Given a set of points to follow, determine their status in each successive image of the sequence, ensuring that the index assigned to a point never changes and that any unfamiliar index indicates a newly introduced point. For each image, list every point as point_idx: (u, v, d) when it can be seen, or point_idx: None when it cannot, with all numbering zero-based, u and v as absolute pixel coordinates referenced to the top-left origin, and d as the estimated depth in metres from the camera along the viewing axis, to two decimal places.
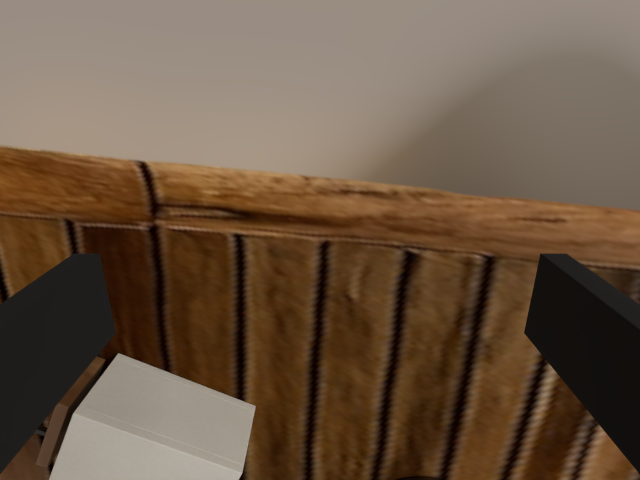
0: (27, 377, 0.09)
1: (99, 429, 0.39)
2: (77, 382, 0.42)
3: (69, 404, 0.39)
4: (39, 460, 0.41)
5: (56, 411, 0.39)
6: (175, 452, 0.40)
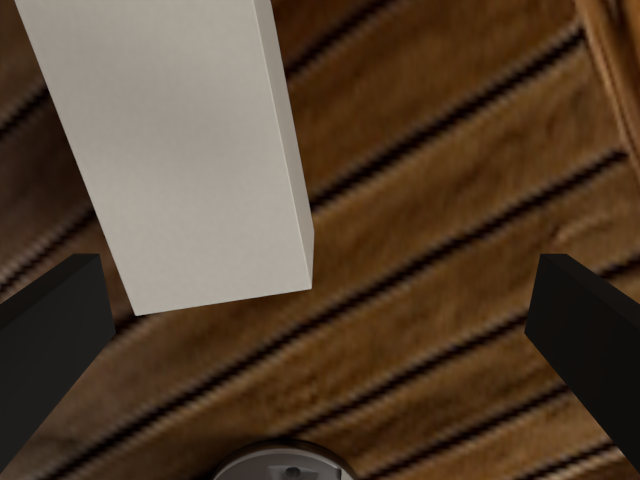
0: (27, 377, 0.09)
1: None
2: None
3: None
4: None
5: None
6: (280, 166, 0.20)
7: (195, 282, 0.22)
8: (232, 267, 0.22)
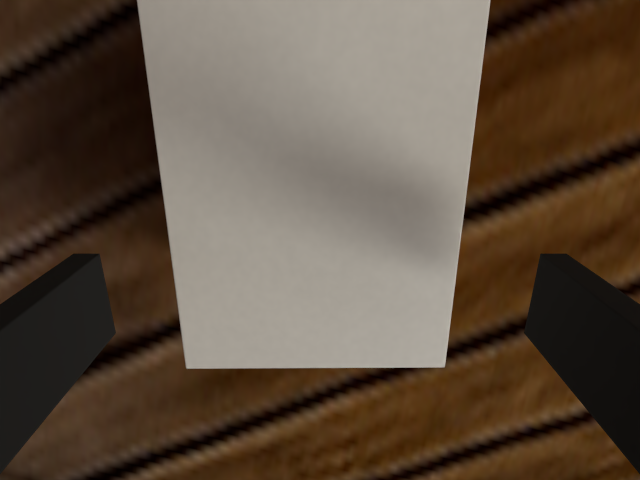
0: (27, 377, 0.09)
1: None
2: None
3: None
4: None
5: None
6: (457, 195, 0.14)
7: (285, 336, 0.15)
8: (344, 323, 0.15)
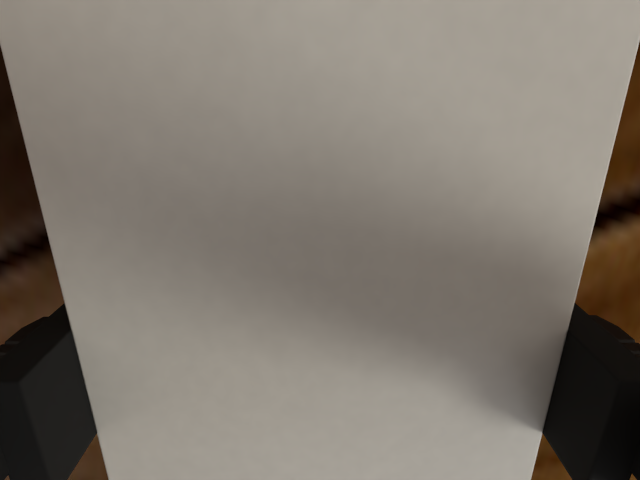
0: None
1: None
2: None
3: None
4: None
5: None
6: (570, 261, 0.08)
7: (272, 472, 0.10)
8: (366, 455, 0.09)
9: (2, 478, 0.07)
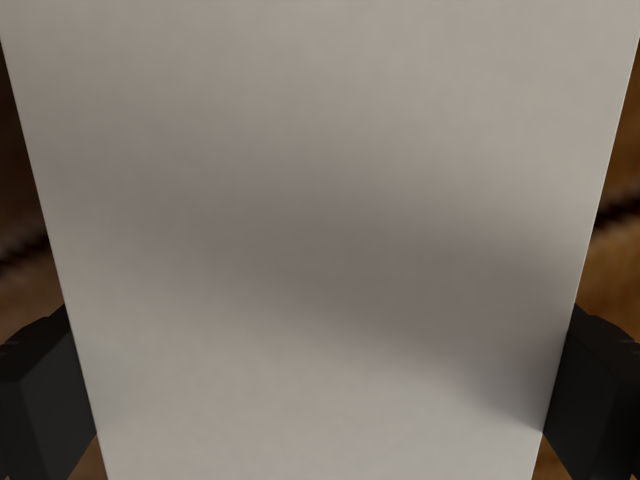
0: None
1: None
2: None
3: None
4: None
5: None
6: (570, 261, 0.08)
7: (272, 472, 0.10)
8: (367, 455, 0.09)
9: (2, 478, 0.07)
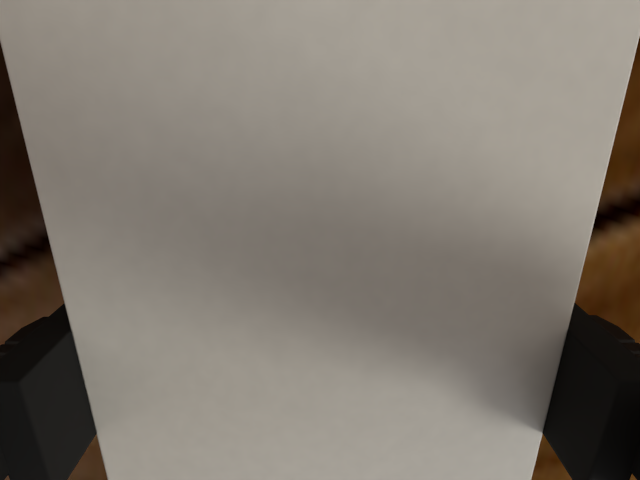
0: None
1: None
2: None
3: None
4: None
5: None
6: (570, 261, 0.08)
7: (272, 472, 0.10)
8: (366, 455, 0.09)
9: (3, 477, 0.07)
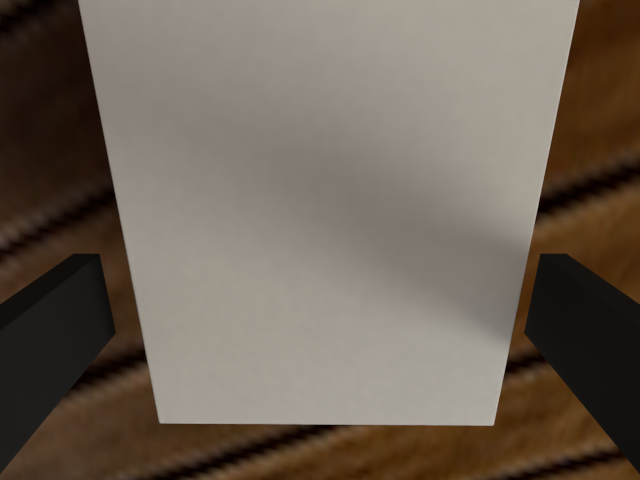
0: (27, 377, 0.09)
1: None
2: None
3: None
4: None
5: None
6: (526, 206, 0.10)
7: (287, 386, 0.12)
8: (364, 371, 0.12)
9: None
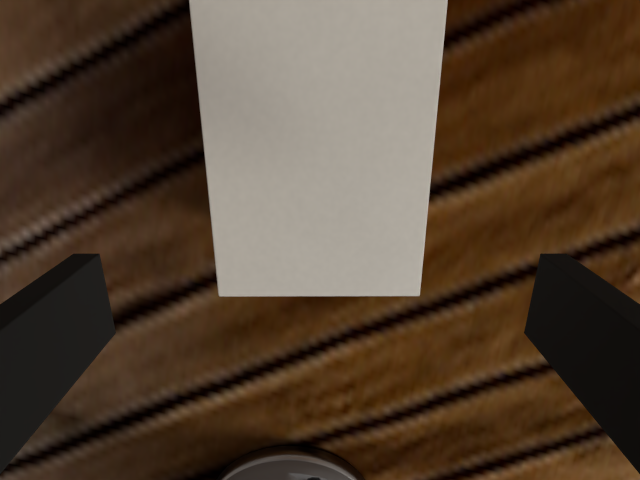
0: (27, 377, 0.09)
1: None
2: None
3: None
4: None
5: None
6: (426, 158, 0.18)
7: (296, 269, 0.20)
8: (341, 259, 0.20)
9: None
